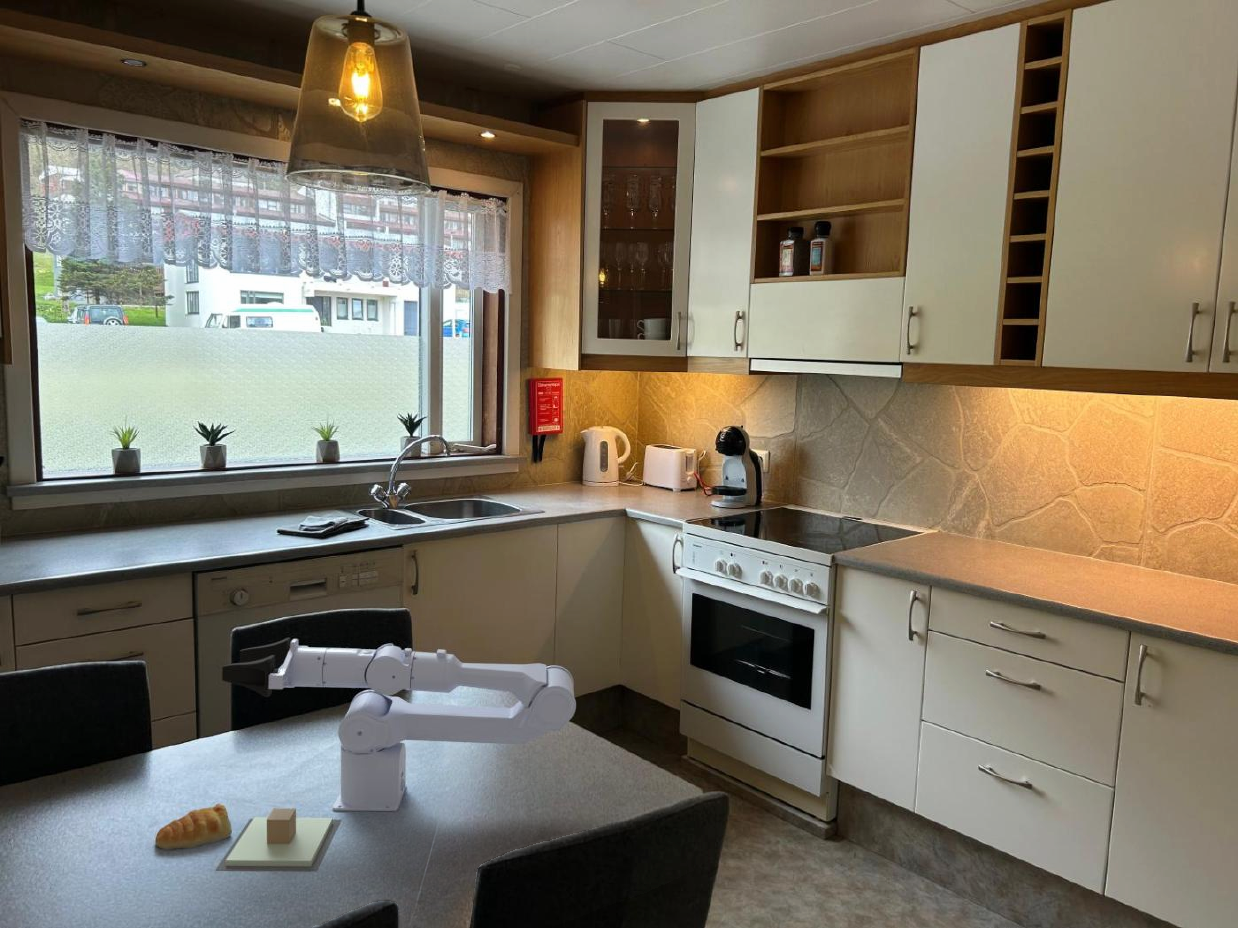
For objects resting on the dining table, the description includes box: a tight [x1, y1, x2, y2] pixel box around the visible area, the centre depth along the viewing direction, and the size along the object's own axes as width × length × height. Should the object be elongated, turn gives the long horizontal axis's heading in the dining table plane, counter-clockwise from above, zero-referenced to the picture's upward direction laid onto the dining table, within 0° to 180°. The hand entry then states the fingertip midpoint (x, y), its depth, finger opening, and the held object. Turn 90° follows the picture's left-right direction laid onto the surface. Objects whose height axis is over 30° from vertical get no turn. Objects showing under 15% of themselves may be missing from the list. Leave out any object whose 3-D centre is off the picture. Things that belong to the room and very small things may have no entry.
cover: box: [226, 807, 334, 866], centre depth 125 cm, size 11×11×4 cm
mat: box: [214, 818, 342, 872], centre depth 126 cm, size 13×13×1 cm
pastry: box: [154, 803, 233, 851], centre depth 126 cm, size 9×7×4 cm
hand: (231, 664), depth 134 cm, fingers open, 7 cm apart
